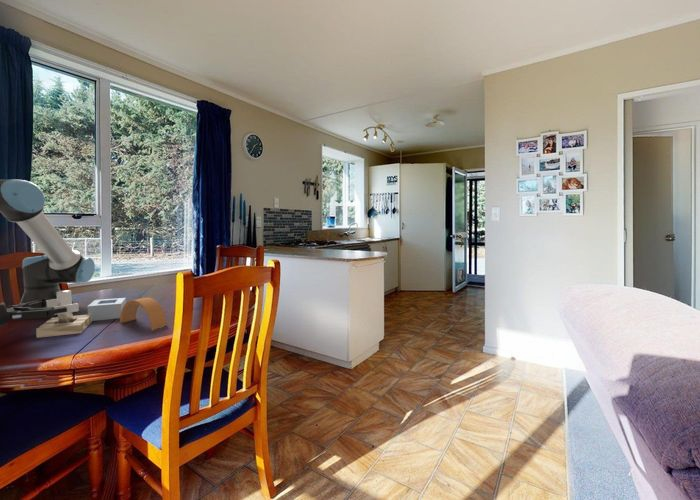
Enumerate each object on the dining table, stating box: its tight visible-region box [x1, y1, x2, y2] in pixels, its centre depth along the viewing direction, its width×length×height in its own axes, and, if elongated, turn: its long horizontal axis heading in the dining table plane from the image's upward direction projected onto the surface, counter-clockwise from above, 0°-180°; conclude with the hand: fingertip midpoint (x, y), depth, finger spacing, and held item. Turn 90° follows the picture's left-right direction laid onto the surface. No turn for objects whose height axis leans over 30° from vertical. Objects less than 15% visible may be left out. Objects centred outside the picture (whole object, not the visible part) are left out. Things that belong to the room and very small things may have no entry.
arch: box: [119, 297, 168, 331], centre depth 127 cm, size 6×20×10 cm, turn 63°
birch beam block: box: [35, 314, 93, 339], centre depth 121 cm, size 14×12×3 cm
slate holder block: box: [87, 297, 127, 322], centre depth 138 cm, size 11×11×6 cm
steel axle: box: [56, 289, 74, 324], centre depth 120 cm, size 4×4×14 cm
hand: (73, 303), depth 122 cm, fingers open, 13 cm apart
